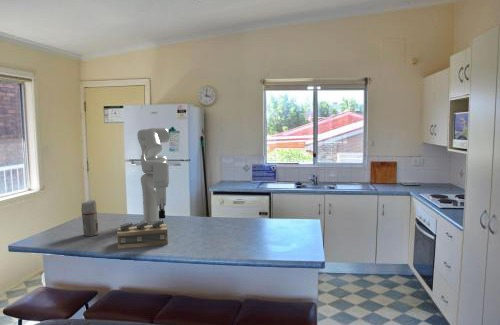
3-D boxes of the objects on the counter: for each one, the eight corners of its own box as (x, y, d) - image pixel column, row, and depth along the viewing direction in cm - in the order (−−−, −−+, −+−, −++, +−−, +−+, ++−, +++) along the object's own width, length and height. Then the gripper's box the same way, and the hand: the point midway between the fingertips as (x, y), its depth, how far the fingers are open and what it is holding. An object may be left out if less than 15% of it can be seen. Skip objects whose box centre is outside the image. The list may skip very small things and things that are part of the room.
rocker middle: (137, 226, 212) (136, 224, 212) (148, 223, 214) (147, 220, 213) (137, 228, 208) (136, 226, 208) (148, 224, 210) (147, 222, 209)
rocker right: (152, 225, 215) (151, 222, 214) (163, 221, 216) (162, 219, 216) (152, 227, 211) (151, 224, 210) (163, 223, 212) (163, 220, 212)
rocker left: (121, 227, 210) (120, 225, 210) (132, 224, 212) (131, 221, 211) (121, 230, 206) (120, 227, 206) (132, 226, 208) (131, 223, 207)
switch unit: (118, 241, 214) (117, 222, 213) (166, 237, 221) (165, 219, 220) (117, 249, 202) (116, 228, 201) (167, 244, 209) (167, 224, 208)
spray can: (93, 237, 224) (91, 202, 222) (80, 236, 225) (78, 201, 223) (101, 233, 232) (100, 199, 230) (89, 232, 234) (87, 198, 232)
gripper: (152, 182, 218) (154, 215, 219) (154, 186, 203) (155, 222, 205) (166, 182, 220) (168, 214, 221) (169, 185, 205) (170, 220, 207)
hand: (162, 218), depth 213 cm, fingers closed
